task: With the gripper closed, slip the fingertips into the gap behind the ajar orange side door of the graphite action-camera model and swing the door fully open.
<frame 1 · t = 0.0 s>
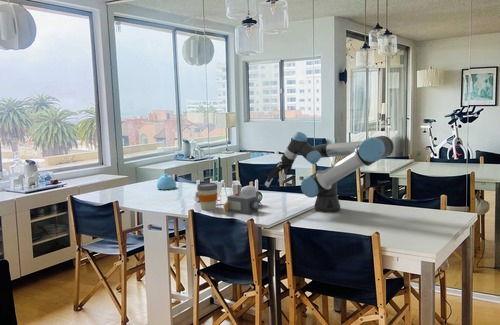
hand: (273, 183, 281), 15 cm above the table, tool tilted 35°, fingers open, 13 cm apart
reusable coffee cup: (208, 208, 293), on the table
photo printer: (248, 205, 296), on the table
sugar bowl: (166, 188, 369), on the table
camera body: (243, 210, 281), on the table
side door: (226, 207, 276), point 4 cm above the table, hinge at 60.0°
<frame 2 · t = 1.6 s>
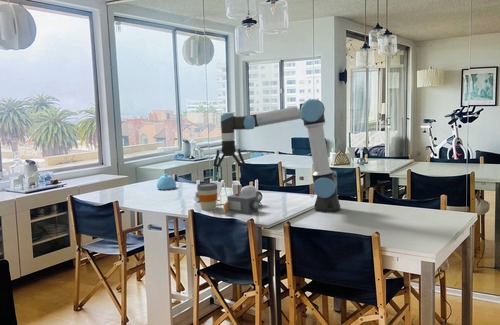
hand: (229, 177, 273), 21 cm above the table, tool pointing down, fingers open, 11 cm apart
nothing on the table moved.
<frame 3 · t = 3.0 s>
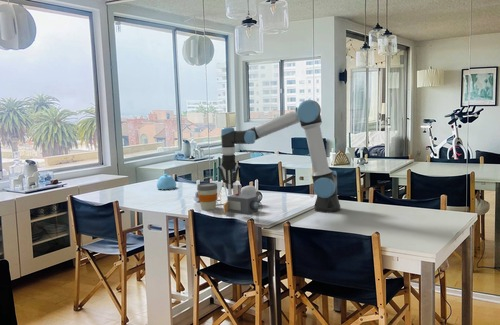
hand: (230, 194, 274), 12 cm above the table, tool pointing down, fingers closed
nothing on the table moved.
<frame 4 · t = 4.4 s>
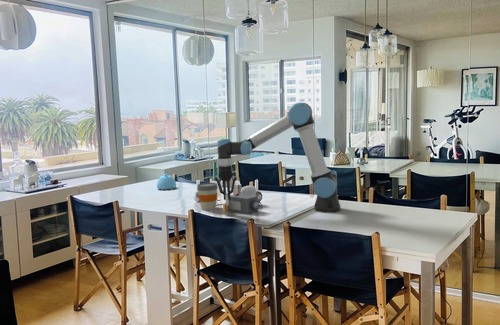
hand: (227, 205, 275), 5 cm above the table, tool pointing down, fingers closed
side door: (226, 207, 276), point 4 cm above the table, hinge at 61.0°, touching gripper
everything else where it was.
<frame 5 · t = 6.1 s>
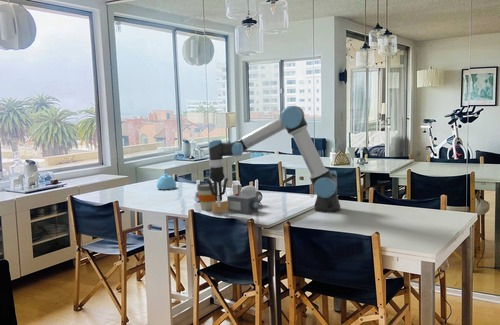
hand: (219, 206, 276), 5 cm above the table, tool pointing down, fingers closed
side door: (220, 206, 279), point 4 cm above the table, hinge at 109.8°, touching gripper
everything else where it was.
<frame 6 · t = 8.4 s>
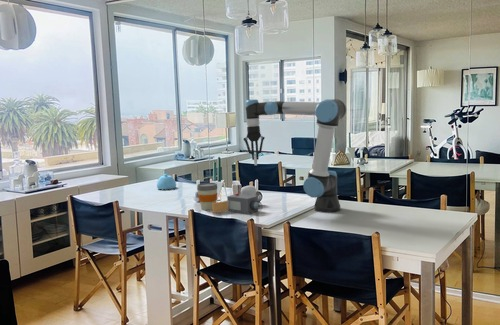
hand: (255, 165, 282), 27 cm above the table, tool pointing down, fingers closed
side door: (220, 206, 279), point 4 cm above the table, hinge at 109.8°
everything else where it was.
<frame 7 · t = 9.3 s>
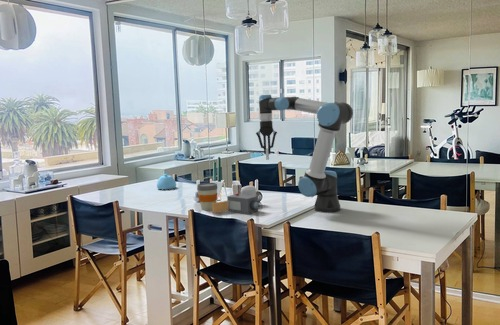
hand: (267, 159, 286), 29 cm above the table, tool pointing down, fingers closed
nothing on the table moved.
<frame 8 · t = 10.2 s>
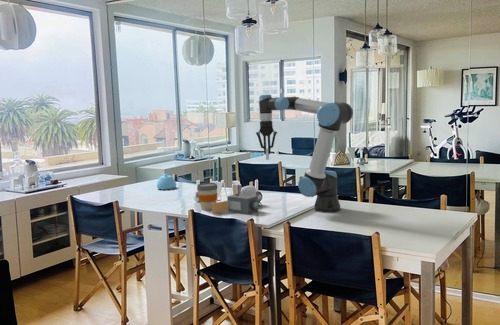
hand: (267, 159, 286), 29 cm above the table, tool pointing down, fingers closed
nothing on the table moved.
at the end: side door at +110° (first picture: +60°) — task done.
